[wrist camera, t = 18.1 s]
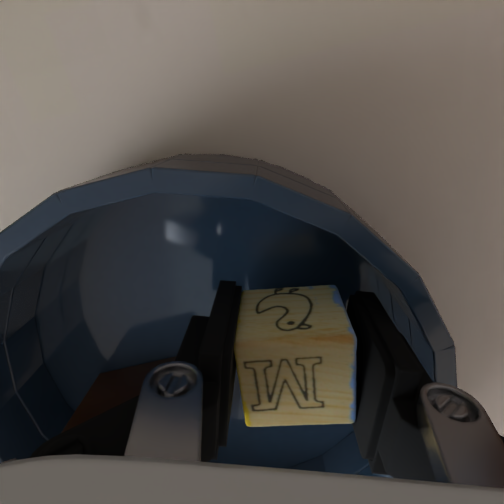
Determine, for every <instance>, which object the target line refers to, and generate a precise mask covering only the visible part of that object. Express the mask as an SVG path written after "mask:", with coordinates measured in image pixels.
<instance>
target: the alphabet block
mask: <svg viewBox="0 0 504 504" xmlns="http://www.w3.org/2000/svg"><path fill="white" fill-rule="evenodd" d="M356 350H357V338H356V335H355V332H354V330H353V328H352V325H351V322H350V320H349V317H348V315H347V312H346V309H345V307H344V304H343V301H342V299H341V296H340V294H339V291H338V288H337V287H336V286H335V285H320V286H306V287H288V288H276V289H258V290H244V291H243V292H242V294H241V300H240V307H239V314H238V321H237V327H236V334H235V341H234V355H235V360H236V366H237V374H238V378H239V384H240V391H241V398H242V404H243V410H244V417H245V423H246V425H247V426H249V427H264V426H265V427H266V426H289V425H317V424H322V425H324V424H352V423H354V422H355V421H356V384H357V383H356V370H357V365H356V364H357V363H356Z"/></svg>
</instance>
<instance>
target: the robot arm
mask: <svg viewBox="0 0 504 504" xmlns="http://www.w3.org/2000/svg"><path fill="white" fill-rule="evenodd" d="M241 294H242V286H236V281H225V280H220V283H219V286H218V289H217V293H216V296H215V299H214V303H213V306H212V310H211V313H210V316H209V317H208V316H195V315H193V316H192V318H191V320H190V323H189V325H188V328H187V330H186V333H185V336H184V338H183V341H182V343H181V346H180V349H179V351H178V354H177V356H176V359H175V361H170V362H165V363H162V364H159V365H157V366H156V367H154V368H152V369H151V370H150V371H149V372H148V373H147V374H146V376H145V378H144V380H143V384H142V388H141V392H140V395H138V396H136V397H134V398H132V399H130V400H128V401H126V402H124V403H122V404H120V405H117V406H115V407H113V408H111V409H109V410H107V411H105V412H103V413H101V414H99V415H97V416H95V417H93V418H91V419H89V420H87V421H85V422H83V423H81V424H79V425H77V426H75V427H73V428H71V429H69V430H67V431H65V432H63V433H61V434H59V435H56V436H54V437H53V438H51V439H49V440H48V441H46V442H45V443H43V444H42V445H41V446H40V447H38V448H37V449H36V450H35V451H34V452H33V453H32V455H31V456H30V458H27V459H20V460H17V459H16V458H13V459H10V460H7V461H4V462H1V463H0V504H504V437H503V436H501V435H499V434H498V432H497V430H496V429H495V427H494V425H493V423H492V422H491V420H490V418H489V416H488V414H487V413H486V411H485V409H484V408H483V407H482V405H481V404H480V403H479V402H478V401H477V400H476V399H475V398H474V397H473V396H471V395H470V394H468V393H467V392H465V391H463V390H462V389H459V388H457V387H455V386H453V385H449V384H445V383H438V382H433V381H432V380H431V378H430V377H429V375H428V374H427V372H426V370H425V369H424V367H423V366H422V364H421V362H420V361H419V359H418V358H417V356H416V355H415V353H414V351H413V350H412V348H411V347H410V345H409V343H408V342H407V340H406V339H405V337H404V336H403V334H402V333H400V332H399V331H398V330H397V328H396V327H395V325H394V323H393V322H392V320H391V318H390V317H389V315H388V314H387V312H386V310H385V309H384V307H383V306H382V304H381V302H380V301H379V299H378V297H377V296H376V294H375V293H374V292H364V291H356V293H355V295H350V296H349V300H348V305H347V310H346V312H347V315H348V317H349V320H350V322H351V325H352V328H353V330H354V332H355V335H356V338H357V350H356V363H357V364H356V365H357V370H356V383H357V384H356V421H355V422H354V423H352V425H353V429H354V432H355V436H356V440H357V443H358V447H359V450H360V454H361V457H362V458H363V459H368V462H369V466H370V469H371V472H372V474H384V475H390V476H391V477H393V478H386V477H375V476H364V475H352V474H341V473H329V472H318V471H306V470H295V469H283V468H271V467H259V466H246V465H234V464H222V463H210V462H208V461H210V460H211V459H212V460H217V456H218V449H219V446H220V447H226V445H227V438H228V430H229V422H230V414H231V406H232V398H233V390H234V382H235V374H236V360H235V355H234V341H235V334H236V327H237V321H238V314H239V307H240V300H241Z"/></svg>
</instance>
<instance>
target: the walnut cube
mask: <svg viewBox="0 0 504 504" xmlns="http://www.w3.org/2000/svg"><path fill="white" fill-rule="evenodd" d="M175 359H176V357H171V358H167V359H162V360H158V361H153V362H149V363H144V364H140V365H135V366H131V367H126V368H122V369H117V370H113V371H108V372H104V373H100V374H99V375H98V377H97V378H96V380H95V382H94V383H93V385H92V386H91V388H90V389H89V391H88V392H87V394H86V395H85V397H84V398H83V400H82V402H81V403H80V405H79V406H78V408H77V409H76V411H75V412H74V414H73V415H72V417H71V418H70V420H69V422H68V423H67V425H66V426H65V428H64V429H63V431H62V432H61V433H63V432H65V431H67V430H69V429H71V428H73V427H75V426H77V425H79V424H81V423H83V422H85V421H87V420H89V419H91V418H93V417H95V416H97V415H99V414H101V413H103V412H105V411H107V410H109V409H111V408H113V407H115V406H117V405H120V404H122V403H124V402H126V401H128V400H130V399H132V398H134V397H136V396H138V395H140V392H141V388H142V384H143V380H144V378H145V376H146V374H147V373H148V372H149V371H150V370H151V369H152V368H154V367H156V366H157V365H159V364H162V363H165V362H170V361H175Z"/></svg>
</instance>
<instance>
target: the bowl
mask: <svg viewBox="0 0 504 504" xmlns="http://www.w3.org/2000/svg"><path fill="white" fill-rule="evenodd" d="M220 280H225V281H236V286H242V292H243V291H244V290H258V289H276V288H288V287H306V286H320V285H335V286H336V287H337V288H338V291H339V294H340V296H341V299H342V301H343V304H344V307H345V309H346V310H347V305H348V300H349V296H350V295H355V293H356V291H364V292H374V293H375V294H376V296H377V297H378V299H379V301H380V302H381V304H382V306H383V307H384V309H385V310H386V312H387V314H388V315H389V317H390V318H391V320H392V322H393V323H394V325H395V327H396V328H397V330H398V331H399V332H400V333H402V334H403V336H404V337H405V339H406V340H407V342H408V343H409V345H410V347H411V348H412V350H413V351H414V353H415V355H416V356H417V358H418V359H419V361H420V362H421V364H422V366H423V367H424V369H425V370H426V372H427V374H428V375H429V377H430V378H431V380H432V381H433V382H438V383H445V384H449V385H453V386H455V387H457V374H456V355H455V346H454V341H453V340H452V338H451V336H450V334H449V332H448V330H447V328H446V326H445V324H444V322H443V320H442V318H441V316H440V314H439V312H438V310H437V308H436V306H435V304H434V302H433V300H432V298H431V296H430V294H429V292H428V290H427V288H426V286H425V284H424V282H423V280H422V278H421V276H420V275H419V273H418V272H417V271H416V270H415V269H414V268H413V267H412V266H411V265H410V264H409V263H408V262H407V261H406V260H405V259H404V258H403V257H402V256H401V255H400V254H399V253H398V252H397V251H396V250H395V249H394V248H393V247H392V246H391V245H390V244H389V243H388V242H387V241H386V240H385V239H384V238H383V237H382V236H381V235H380V234H379V233H378V232H377V231H376V230H374V229H373V228H372V227H371V226H370V225H369V224H368V223H367V222H365V221H364V220H363V219H362V218H361V217H360V216H359V215H358V214H357V213H356V212H355V211H354V210H352V209H351V208H350V207H349V206H348V205H346V204H345V203H344V202H343V201H342V200H341V199H340V198H339V197H338V196H336V195H335V194H334V193H333V192H332V191H331V190H330V189H327V188H326V187H325V186H322V185H320V184H317V183H315V182H313V181H312V180H310V179H308V178H306V177H304V176H302V175H299V174H297V173H295V172H292V171H290V170H288V169H286V168H283V167H281V166H277V165H274V164H270V163H267V162H265V161H263V160H258V159H252V158H245V157H238V156H231V155H224V154H179V155H175V156H171V157H168V158H163V159H159V160H156V161H152V162H149V163H145V164H141V165H137V166H133V167H130V168H126V169H122V170H118V171H115V172H112V173H109V174H106V175H103V176H100V177H97V178H94V179H92V180H89V181H86V182H83V183H80V184H77V185H74V186H71V187H68V188H66V189H63V190H60V191H58V192H56V193H54V194H52V195H51V196H49V197H48V198H47V199H45V200H44V201H43V202H41V203H40V204H38V205H37V206H36V207H34V208H33V209H32V210H30V211H29V212H27V213H26V214H25V215H23V216H22V217H20V218H19V219H18V220H16V221H15V222H14V223H12V224H11V225H9V226H8V227H7V228H5V229H4V230H3V231H1V232H0V463H1V462H4V461H7V460H10V459H13V458H16V459H17V460H20V459H27V458H30V456H31V455H32V453H33V452H34V451H35V450H36V449H37V448H38V447H40V446H41V445H42V444H43V443H45V442H46V441H48V440H49V439H51V438H53V437H54V436H56V435H59V434H61V432H62V431H63V429H64V428H65V426H66V425H67V423H68V422H69V420H70V418H71V417H72V415H73V414H74V412H75V411H76V409H77V408H78V406H79V405H80V403H81V402H82V400H83V398H84V397H85V395H86V394H87V392H88V391H89V389H90V388H91V386H92V385H93V383H94V382H95V380H96V378H97V377H98V375H99V374H100V373H104V372H108V371H113V370H117V369H122V368H126V367H131V366H135V365H140V364H144V363H149V362H153V361H158V360H162V359H167V358H171V357H176V356H177V354H178V351H179V349H180V346H181V343H182V341H183V338H184V336H185V333H186V330H187V328H188V325H189V323H190V320H191V318H192V316H193V315H195V316H208V317H209V316H210V313H211V310H212V306H213V303H214V299H215V296H216V293H217V289H218V286H219V283H220ZM208 462H210V463H222V464H234V465H246V466H259V467H271V468H283V469H295V470H306V471H318V472H329V473H341V474H352V475H364V476H375V477H386V478H393V477H391V476H390V475H384V474H372V472H371V469H370V466H369V462H368V459H363V458H362V457H361V454H360V450H359V447H358V443H357V440H356V436H355V432H354V429H353V425H352V424H324V425H322V424H317V425H289V426H266V427H265V426H264V427H249V426H247V425H246V423H245V417H244V410H243V404H242V398H241V391H240V384H239V378H238V374H237V366H236V374H235V382H234V390H233V398H232V406H231V414H230V422H229V430H228V438H227V445H226V447H220V446H219V449H218V456H217V460H212V459H211V460H210V461H208Z"/></svg>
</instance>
